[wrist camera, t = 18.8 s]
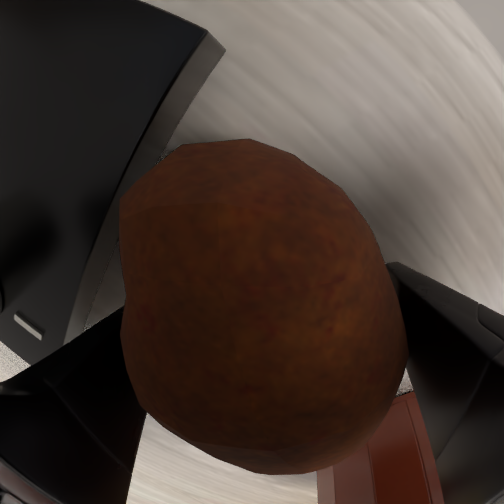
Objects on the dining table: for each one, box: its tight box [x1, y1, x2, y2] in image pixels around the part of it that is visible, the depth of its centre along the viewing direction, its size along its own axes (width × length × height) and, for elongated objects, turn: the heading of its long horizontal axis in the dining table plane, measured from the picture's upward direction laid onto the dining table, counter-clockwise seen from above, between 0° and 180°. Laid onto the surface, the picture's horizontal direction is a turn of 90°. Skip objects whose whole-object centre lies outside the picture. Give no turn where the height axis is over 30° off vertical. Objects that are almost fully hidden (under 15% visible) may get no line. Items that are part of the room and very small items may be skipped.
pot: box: [317, 391, 444, 504], centre depth 12 cm, size 11×17×7 cm
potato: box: [119, 139, 409, 475], centre depth 7 cm, size 7×9×6 cm
